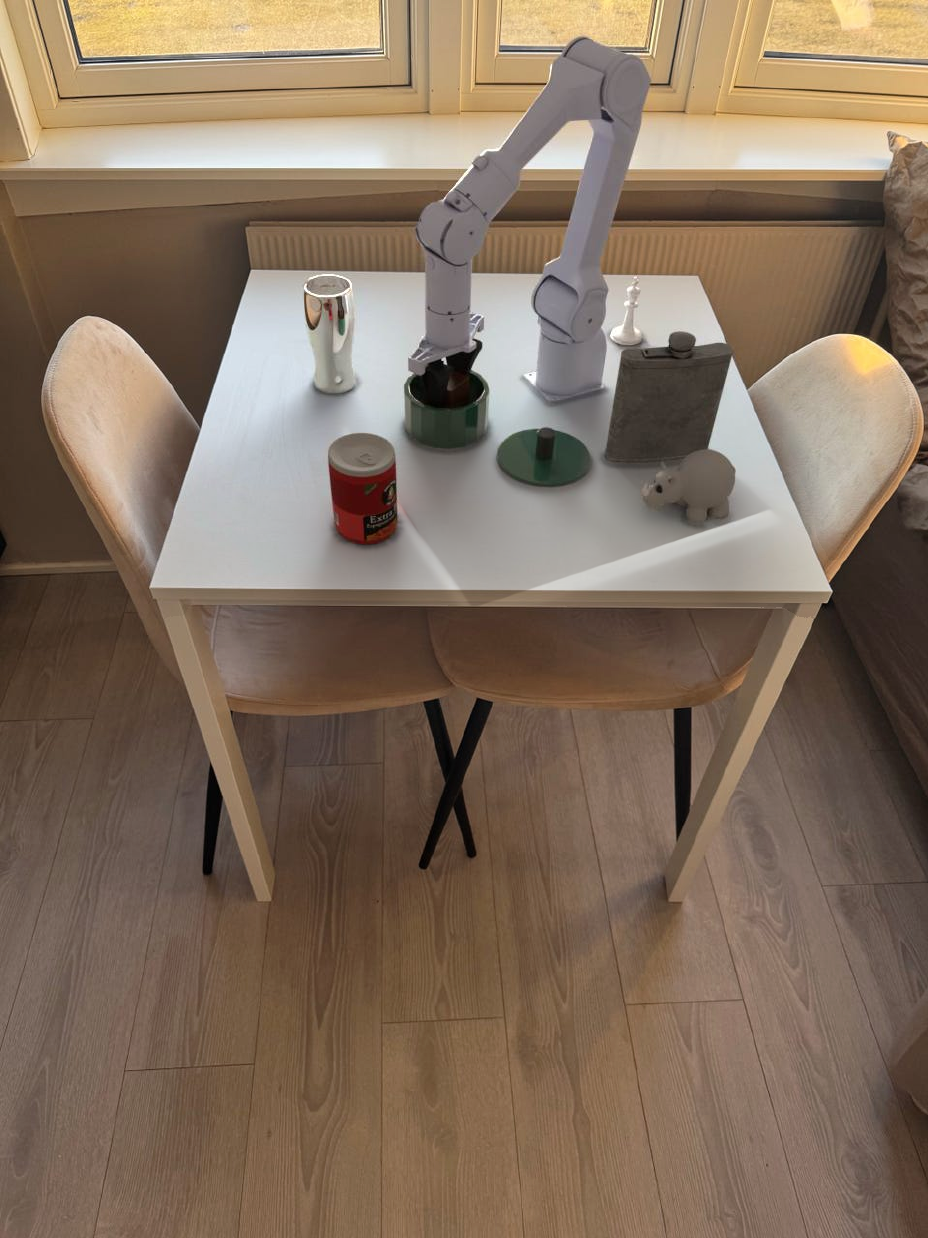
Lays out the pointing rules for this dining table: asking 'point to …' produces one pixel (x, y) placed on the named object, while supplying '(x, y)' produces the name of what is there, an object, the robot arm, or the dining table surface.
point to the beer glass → (330, 331)
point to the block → (455, 391)
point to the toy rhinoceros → (694, 485)
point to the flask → (666, 400)
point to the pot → (446, 415)
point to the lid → (543, 457)
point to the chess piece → (628, 320)
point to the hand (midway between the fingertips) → (446, 398)
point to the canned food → (363, 487)
